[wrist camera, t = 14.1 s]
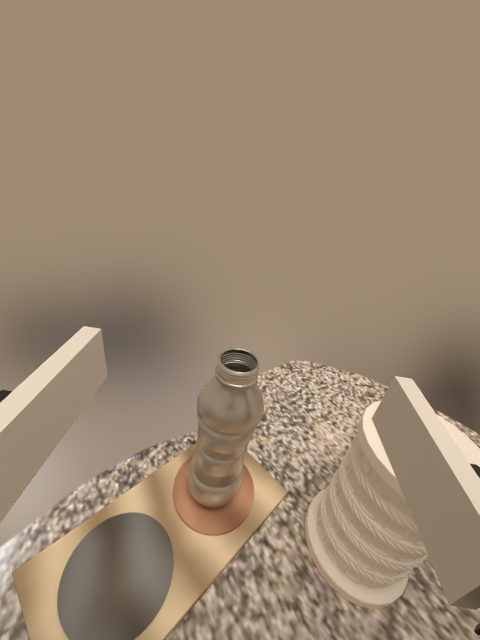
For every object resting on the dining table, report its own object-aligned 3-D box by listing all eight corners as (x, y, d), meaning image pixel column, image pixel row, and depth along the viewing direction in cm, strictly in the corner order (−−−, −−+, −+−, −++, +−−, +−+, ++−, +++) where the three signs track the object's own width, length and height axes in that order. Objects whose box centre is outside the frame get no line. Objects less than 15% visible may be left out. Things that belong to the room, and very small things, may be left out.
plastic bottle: (186, 462, 37) (200, 336, 27) (236, 461, 38) (268, 341, 28) (183, 516, 31) (200, 384, 21) (242, 514, 32) (284, 387, 22)
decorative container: (317, 475, 40) (365, 381, 31) (403, 524, 36) (487, 432, 27) (291, 562, 30) (349, 463, 22) (404, 640, 27) (532, 560, 18)
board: (219, 430, 44) (221, 423, 43) (285, 496, 36) (288, 489, 36) (14, 576, 26) (10, 569, 25) (64, 759, 19) (60, 757, 18)
